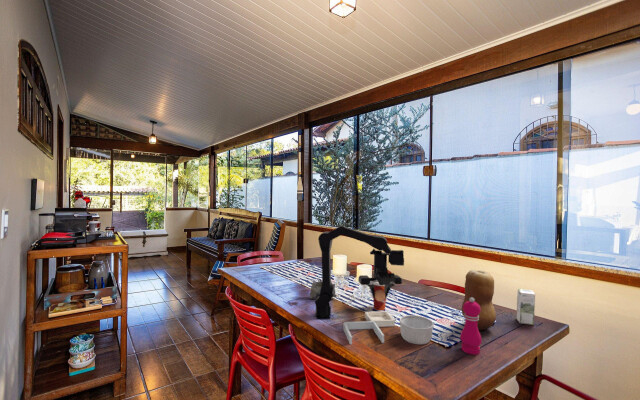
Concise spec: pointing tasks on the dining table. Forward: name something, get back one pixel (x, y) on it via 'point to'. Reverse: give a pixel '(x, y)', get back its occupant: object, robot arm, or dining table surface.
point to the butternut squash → (481, 296)
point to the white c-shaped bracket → (362, 325)
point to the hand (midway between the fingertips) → (379, 298)
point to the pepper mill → (471, 328)
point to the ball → (379, 295)
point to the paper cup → (379, 304)
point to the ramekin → (416, 329)
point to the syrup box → (525, 306)
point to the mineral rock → (316, 290)
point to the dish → (380, 318)
